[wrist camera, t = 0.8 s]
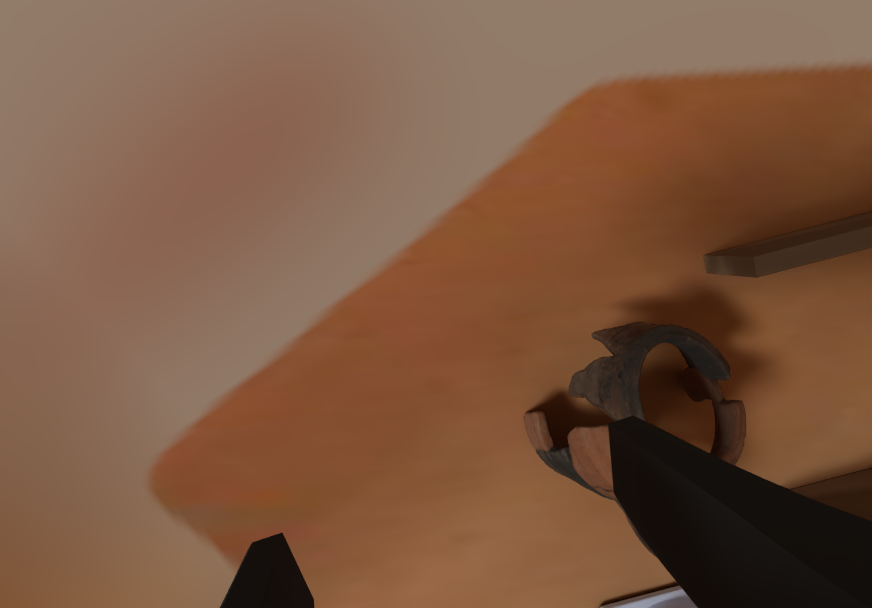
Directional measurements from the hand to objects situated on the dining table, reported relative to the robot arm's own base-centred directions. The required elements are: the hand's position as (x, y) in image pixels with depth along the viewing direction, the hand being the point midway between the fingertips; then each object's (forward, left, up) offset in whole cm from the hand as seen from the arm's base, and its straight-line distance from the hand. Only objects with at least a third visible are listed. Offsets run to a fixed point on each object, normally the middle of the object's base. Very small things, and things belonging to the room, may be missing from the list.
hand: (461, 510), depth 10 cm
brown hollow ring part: (-7, -9, -17) cm, 20 cm away
